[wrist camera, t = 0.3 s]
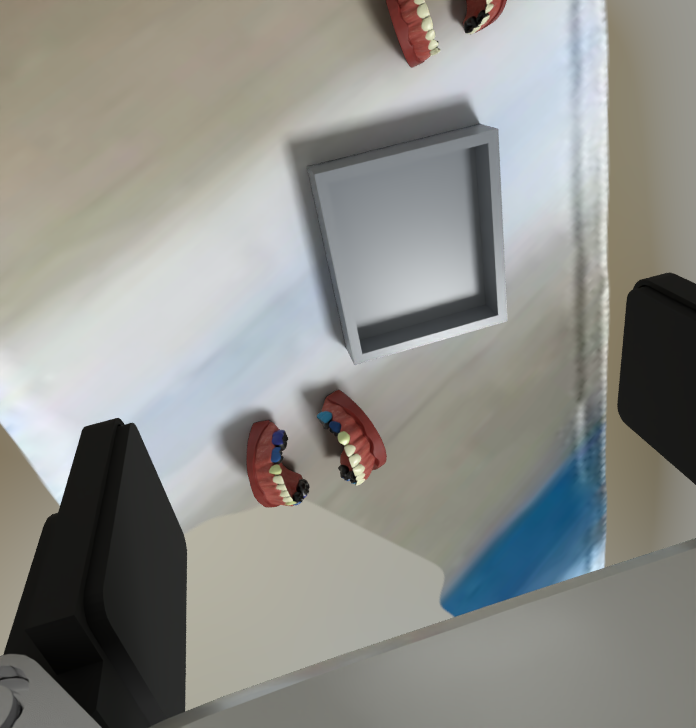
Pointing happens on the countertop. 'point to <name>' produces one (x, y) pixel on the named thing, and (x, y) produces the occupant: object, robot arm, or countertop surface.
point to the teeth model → (289, 487)
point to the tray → (414, 240)
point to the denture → (419, 33)
